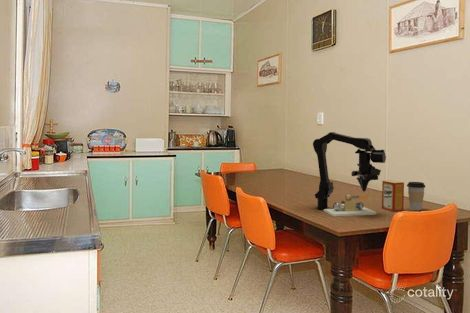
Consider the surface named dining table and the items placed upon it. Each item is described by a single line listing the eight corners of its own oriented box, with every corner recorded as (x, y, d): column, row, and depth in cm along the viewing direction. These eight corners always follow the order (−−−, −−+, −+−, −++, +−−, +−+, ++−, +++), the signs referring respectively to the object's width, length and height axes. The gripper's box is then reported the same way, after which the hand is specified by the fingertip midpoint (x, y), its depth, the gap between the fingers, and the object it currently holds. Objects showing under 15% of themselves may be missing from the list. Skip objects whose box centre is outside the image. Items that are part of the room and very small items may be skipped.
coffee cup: (428, 211, 221) (429, 183, 220) (412, 211, 220) (413, 184, 218) (418, 207, 230) (418, 181, 229) (402, 208, 229) (403, 181, 228)
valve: (336, 211, 216) (336, 200, 215) (332, 209, 221) (332, 198, 221) (364, 210, 218) (364, 199, 218) (359, 208, 224) (360, 197, 223)
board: (323, 211, 223) (323, 209, 223) (364, 209, 227) (364, 207, 227) (333, 216, 210) (333, 214, 210) (376, 214, 214) (376, 212, 214)
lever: (346, 199, 217) (346, 195, 217) (344, 198, 221) (344, 194, 221) (367, 198, 218) (367, 195, 218) (365, 197, 221) (365, 194, 221)
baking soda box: (381, 208, 229) (382, 180, 228) (391, 207, 232) (392, 179, 230) (393, 211, 221) (394, 182, 219) (403, 210, 223) (404, 181, 221)
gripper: (388, 163, 206) (387, 193, 207) (370, 160, 225) (369, 188, 226) (367, 163, 204) (367, 194, 206) (351, 160, 223) (350, 188, 224)
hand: (364, 191), depth 215 cm, fingers closed
